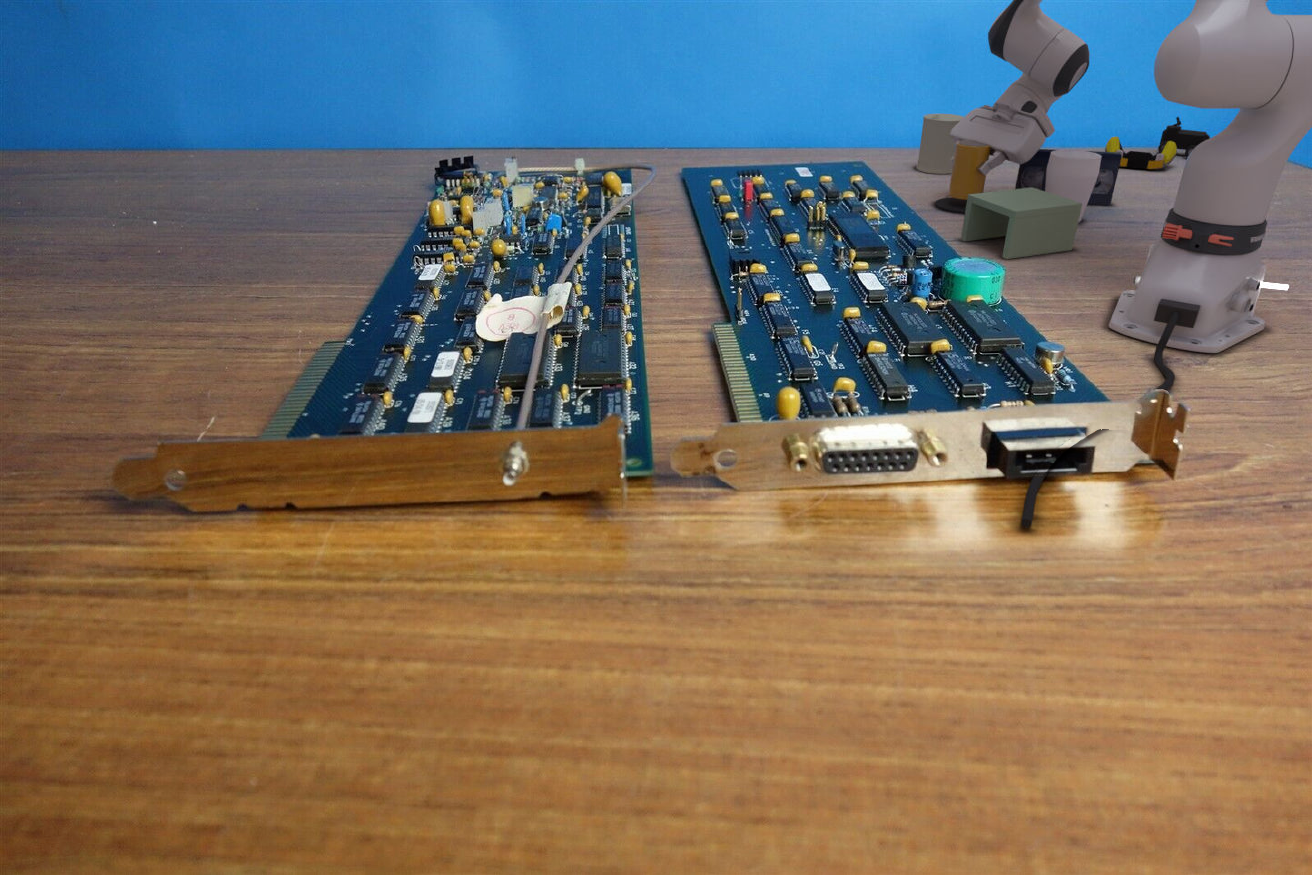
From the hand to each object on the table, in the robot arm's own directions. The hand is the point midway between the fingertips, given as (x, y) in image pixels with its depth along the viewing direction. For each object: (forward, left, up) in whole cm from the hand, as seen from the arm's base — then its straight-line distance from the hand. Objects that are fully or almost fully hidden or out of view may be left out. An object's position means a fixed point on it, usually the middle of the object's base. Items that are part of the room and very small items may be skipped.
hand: (967, 168), depth 181 cm
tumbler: (+1, 0, -5) cm, 5 cm away
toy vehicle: (+82, -21, -8) cm, 85 cm away
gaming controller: (+63, -14, -8) cm, 65 cm away
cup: (+5, -18, -8) cm, 20 cm away
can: (+28, +19, -8) cm, 34 cm away
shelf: (-17, -18, -8) cm, 26 cm away
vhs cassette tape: (+18, -13, -8) cm, 23 cm away
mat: (+1, 0, -8) cm, 8 cm away
